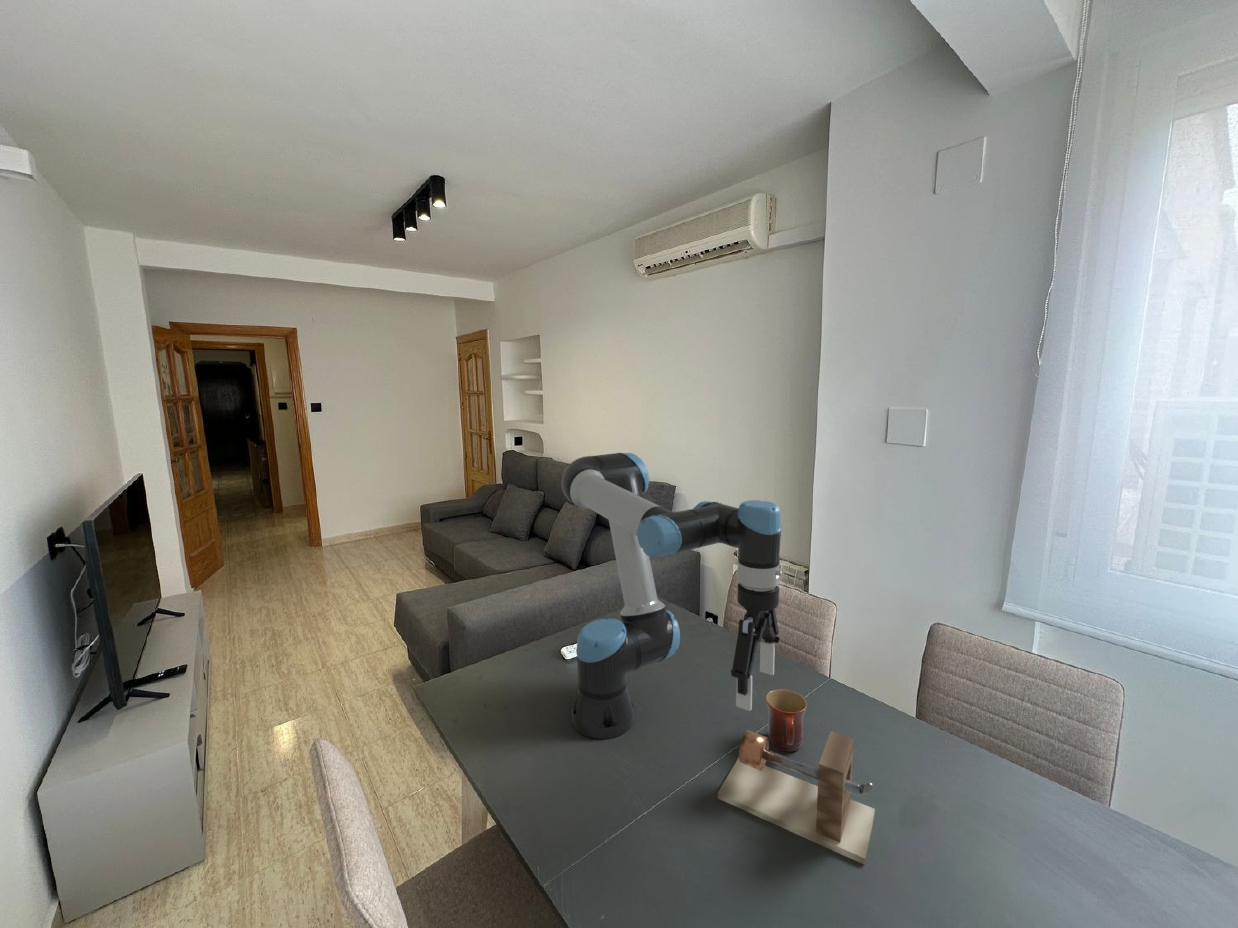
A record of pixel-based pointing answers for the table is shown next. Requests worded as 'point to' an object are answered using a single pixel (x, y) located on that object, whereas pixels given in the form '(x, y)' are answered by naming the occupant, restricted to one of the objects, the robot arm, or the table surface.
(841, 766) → the eye block
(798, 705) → the mug
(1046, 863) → the table surface
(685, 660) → the table surface
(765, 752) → the copper and grey mallet
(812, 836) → the board
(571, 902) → the table surface
